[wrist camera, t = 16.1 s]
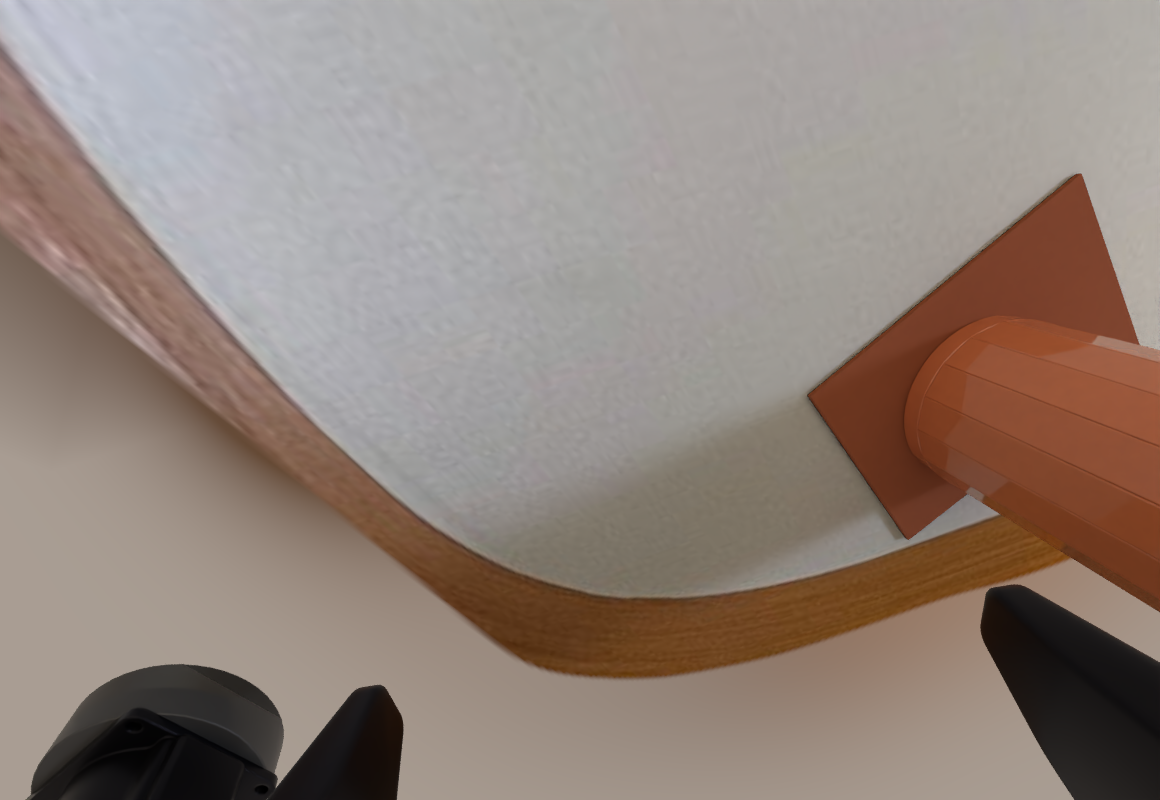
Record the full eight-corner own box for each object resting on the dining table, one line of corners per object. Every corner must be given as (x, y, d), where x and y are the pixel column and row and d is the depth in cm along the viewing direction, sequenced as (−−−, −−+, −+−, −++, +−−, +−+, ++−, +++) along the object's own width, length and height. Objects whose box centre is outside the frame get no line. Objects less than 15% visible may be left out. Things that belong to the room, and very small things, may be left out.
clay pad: (905, 537, 25) (908, 540, 25) (807, 395, 22) (810, 396, 21) (1138, 354, 24) (1143, 355, 24) (1076, 173, 21) (1081, 173, 20)
